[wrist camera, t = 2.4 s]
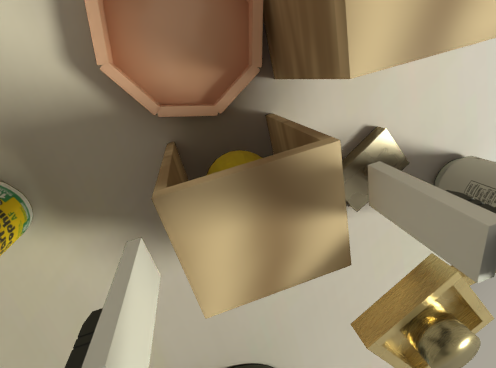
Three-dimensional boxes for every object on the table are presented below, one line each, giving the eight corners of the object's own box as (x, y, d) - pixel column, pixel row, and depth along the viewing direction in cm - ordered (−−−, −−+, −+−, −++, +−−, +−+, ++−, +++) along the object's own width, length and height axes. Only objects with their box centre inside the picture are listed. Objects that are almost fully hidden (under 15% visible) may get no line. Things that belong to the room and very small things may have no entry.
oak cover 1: (197, 223, 25) (205, 318, 15) (167, 143, 21) (151, 198, 11) (287, 193, 26) (351, 265, 16) (272, 113, 22) (340, 140, 12)
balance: (313, 246, 29) (457, 436, 13) (278, 217, 26) (407, 408, 11) (447, 120, 26) (803, 176, 11) (423, 75, 24) (838, 67, 9)
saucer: (190, 142, 22) (191, 148, 20) (60, 30, 17) (44, 24, 15) (284, 39, 20) (295, 35, 18) (170, -111, 16) (168, -139, 14)
